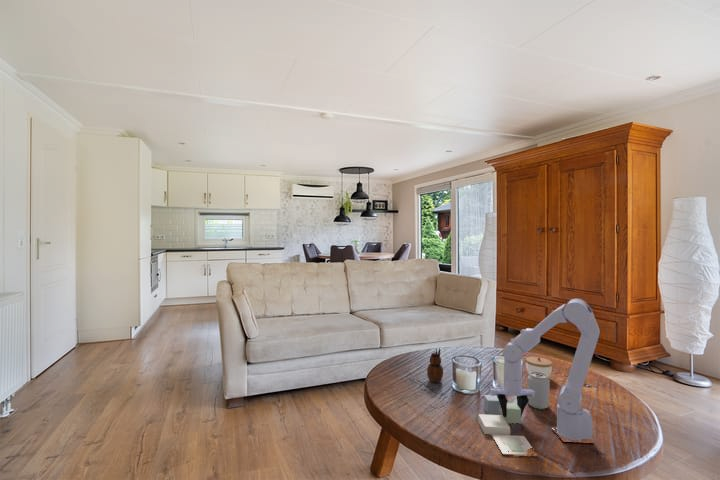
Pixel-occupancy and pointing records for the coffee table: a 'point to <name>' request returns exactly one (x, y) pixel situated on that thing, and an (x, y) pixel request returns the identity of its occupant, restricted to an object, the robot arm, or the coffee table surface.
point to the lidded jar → (538, 365)
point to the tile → (512, 444)
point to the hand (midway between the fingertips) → (511, 416)
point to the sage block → (513, 413)
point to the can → (539, 390)
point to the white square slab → (493, 424)
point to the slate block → (491, 404)
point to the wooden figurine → (435, 368)
